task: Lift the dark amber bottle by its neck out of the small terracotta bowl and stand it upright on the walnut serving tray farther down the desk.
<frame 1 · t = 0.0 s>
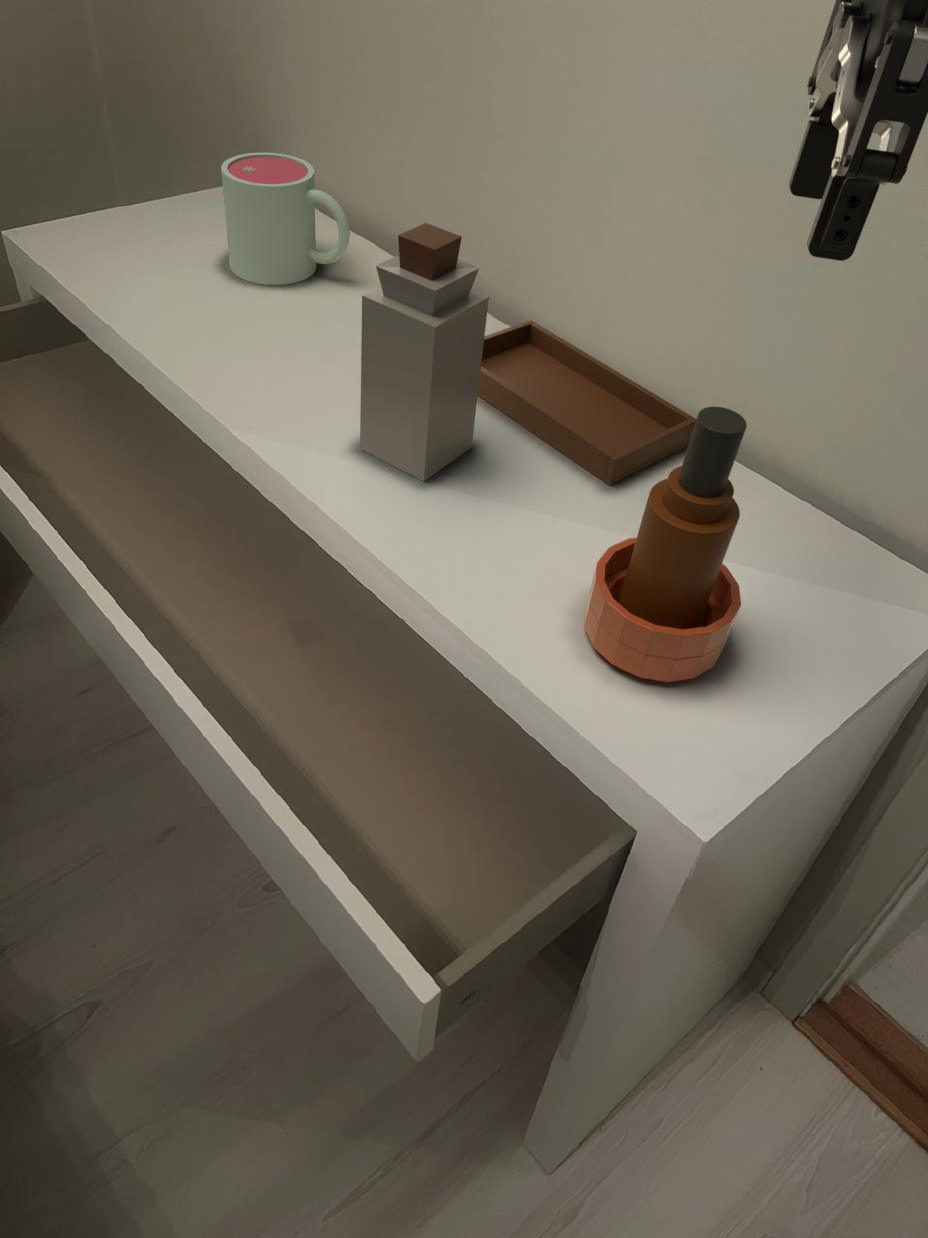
hand: (815, 223, 50), 27 cm above the table, tool pointing down, fingers open, 8 cm apart
tray: (564, 408, 85), on the table
bottle: (652, 629, 65), point 1 cm above the table, touching bowl
bowl: (650, 635, 65), on the table
mug: (291, 272, 100), on the table
perfume bottle: (416, 449, 79), on the table
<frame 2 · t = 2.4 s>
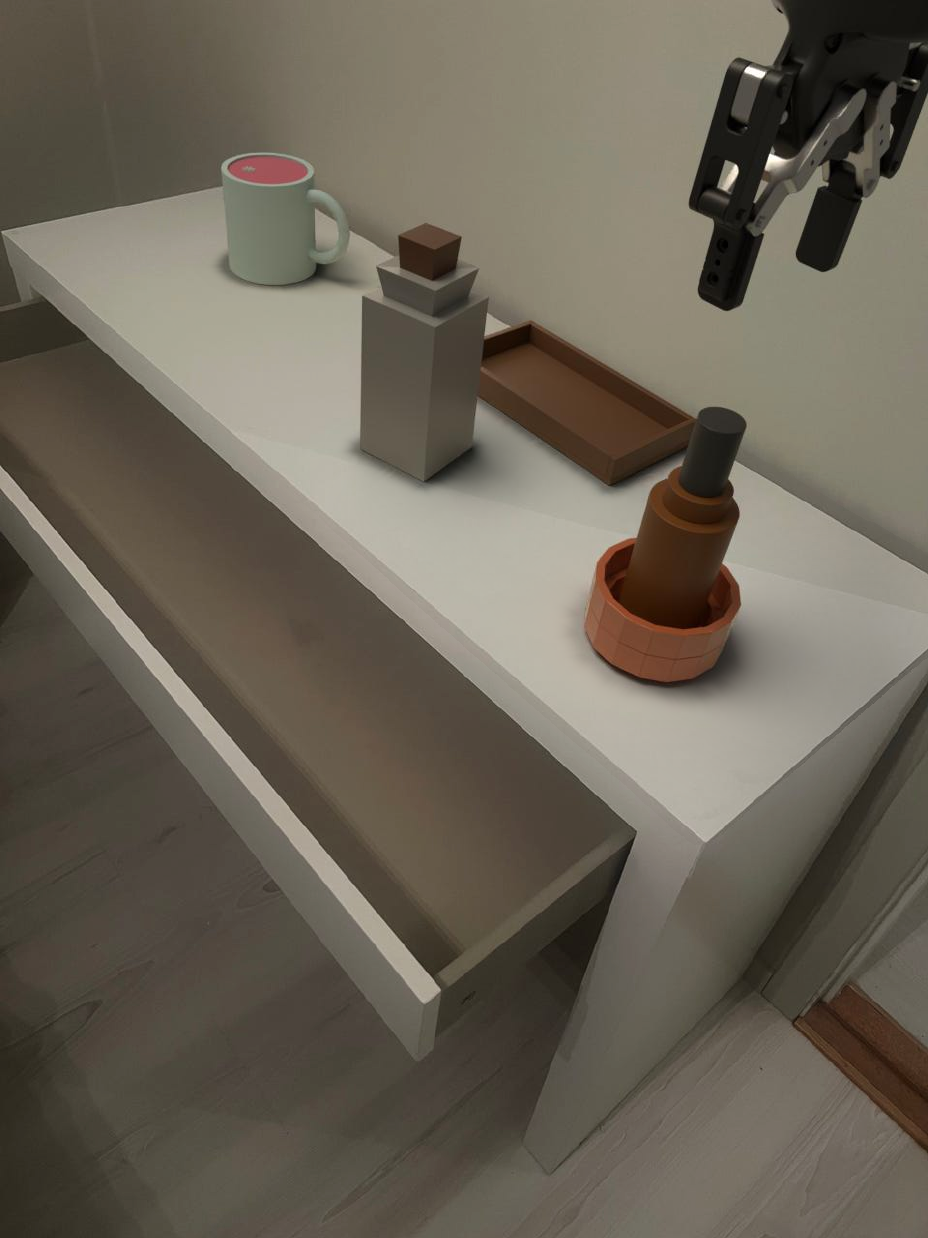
hand: (768, 283, 47), 26 cm above the table, tool pointing down, fingers open, 8 cm apart
nothing on the table moved.
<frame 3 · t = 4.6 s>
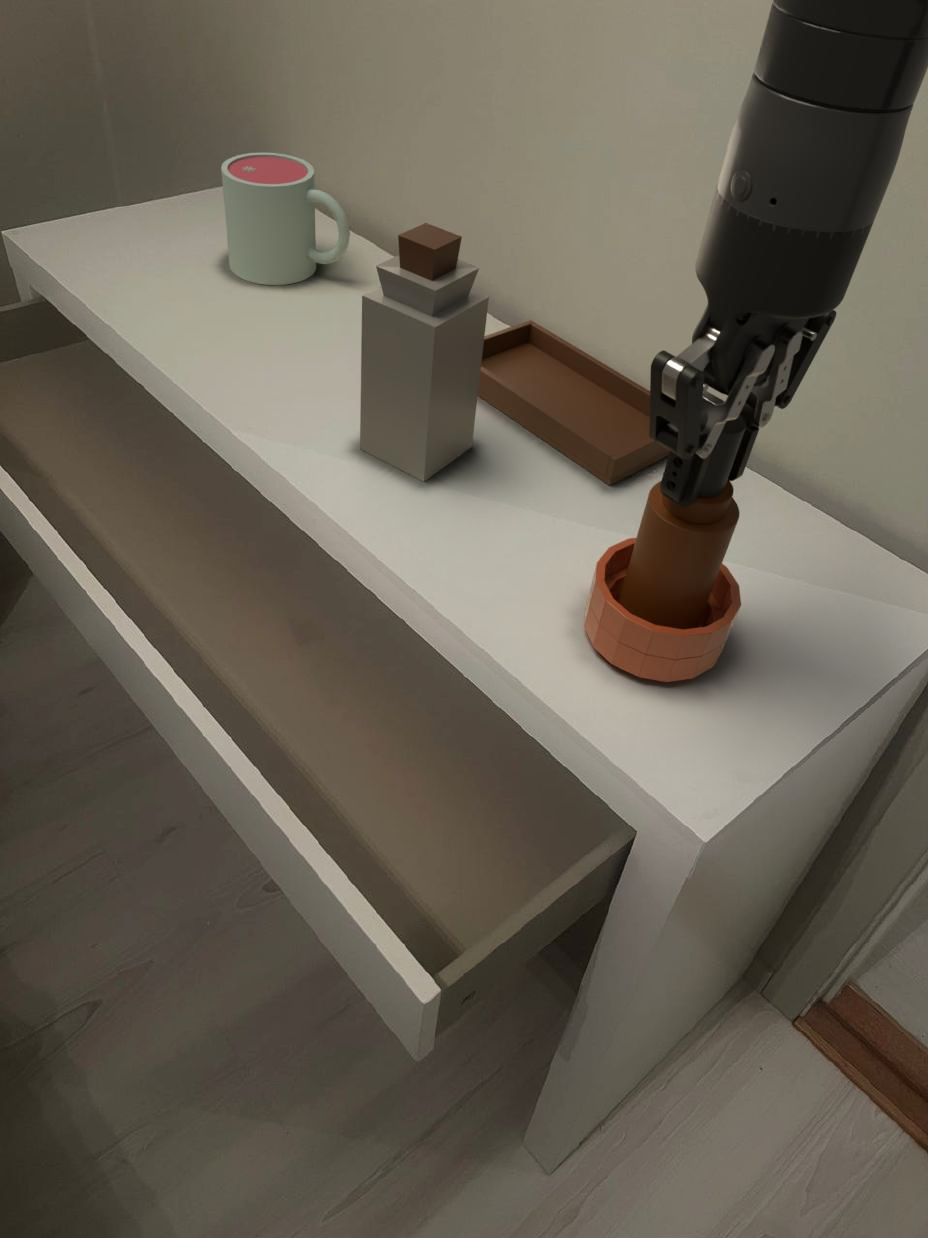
hand: (700, 484, 56), 13 cm above the table, tool pointing down, fingers closed on bottle, 4 cm apart
bottle: (652, 629, 65), point 1 cm above the table, touching bowl, gripper
everything else where it was.
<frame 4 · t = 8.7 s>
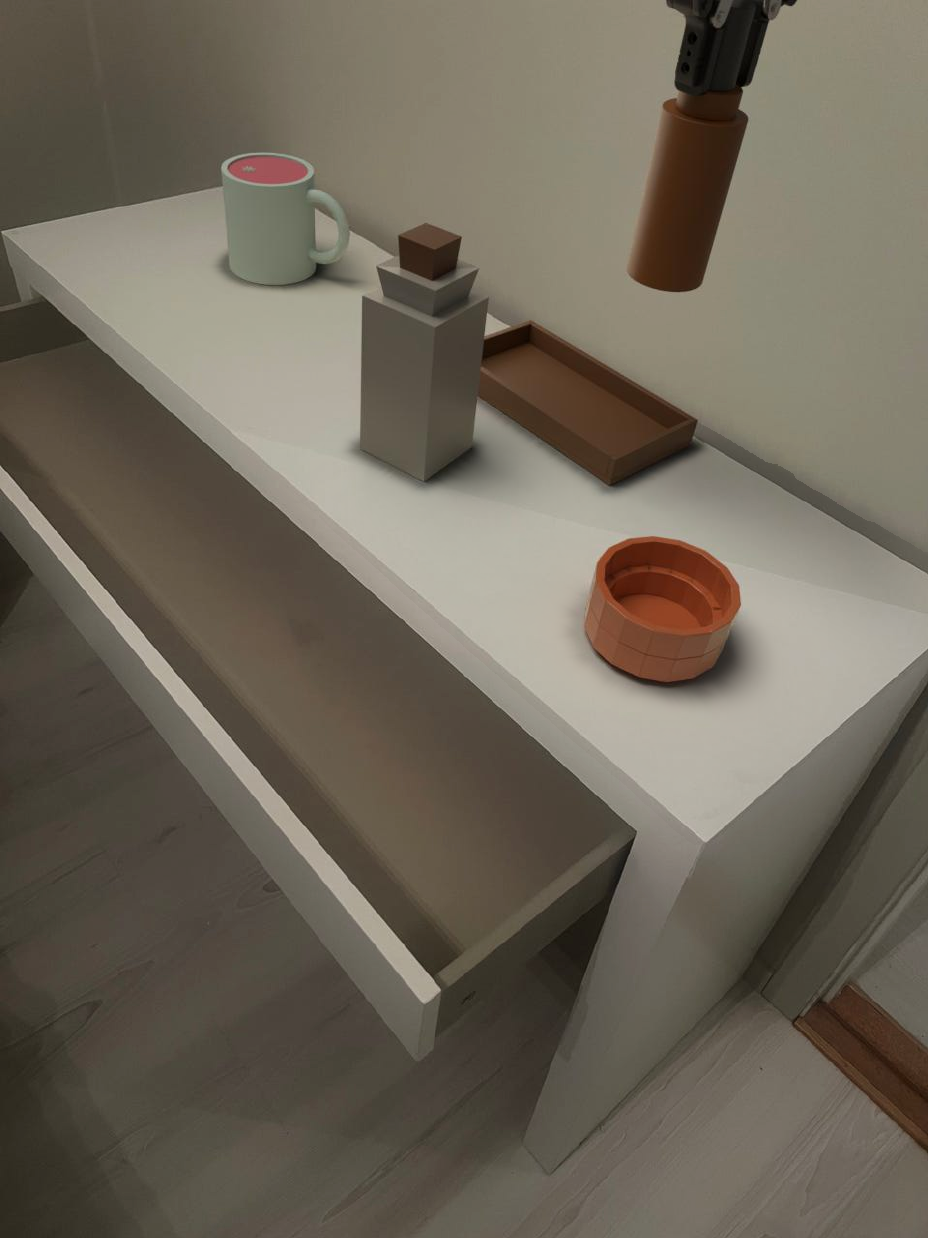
hand: (712, 86, 59), 29 cm above the table, tool pointing down, fingers closed on bottle, 4 cm apart
bottle: (664, 274, 68), point 17 cm above the table, touching gripper
everything else where it was.
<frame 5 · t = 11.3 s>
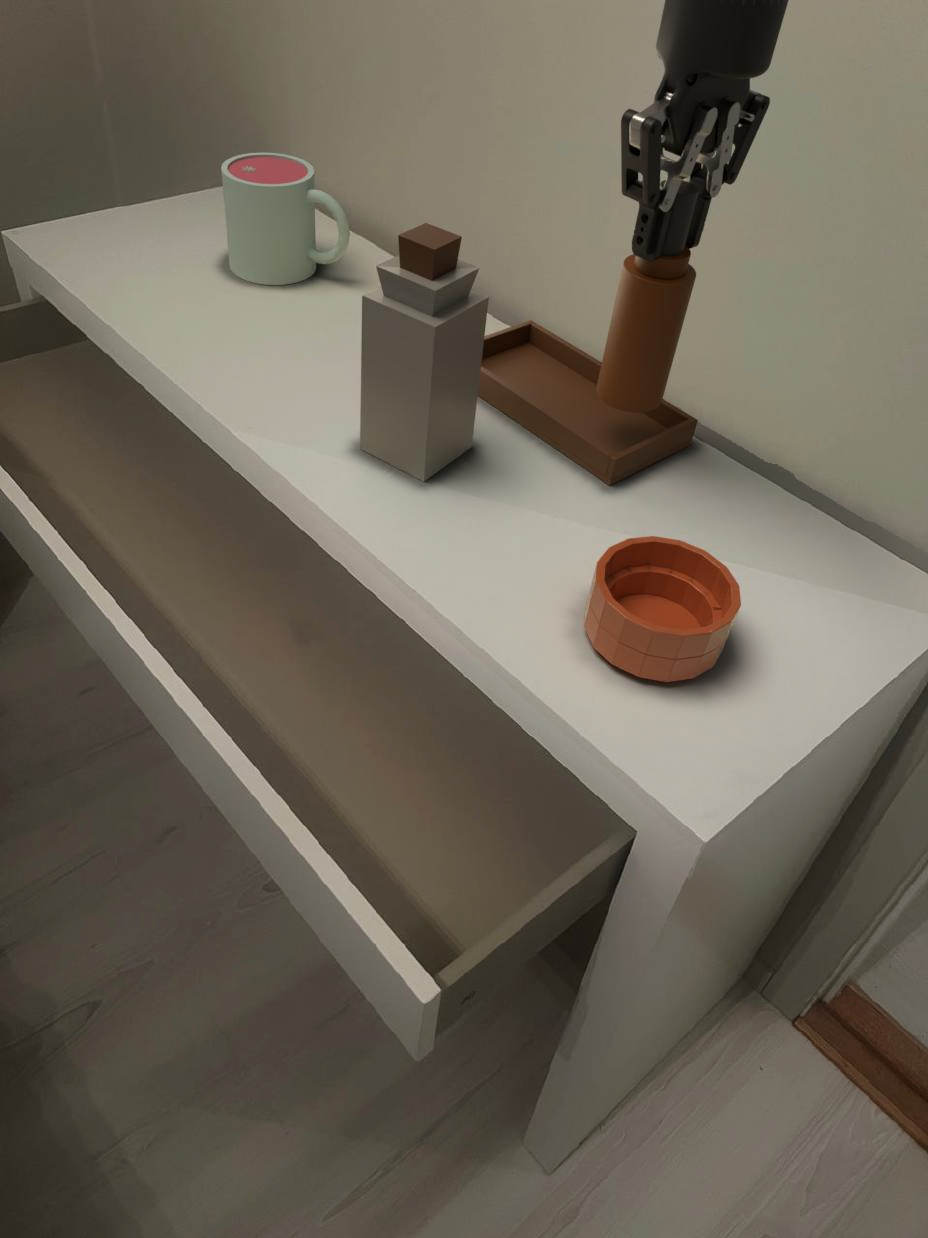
hand: (665, 249, 70), 17 cm above the table, tool pointing down, fingers closed on bottle, 4 cm apart
bottle: (628, 394, 78), point 5 cm above the table, touching gripper
everything else where it was.
when the fingers open (13 cm above the table, at t = 12.8 s): bottle stays where it is, resting on tray.
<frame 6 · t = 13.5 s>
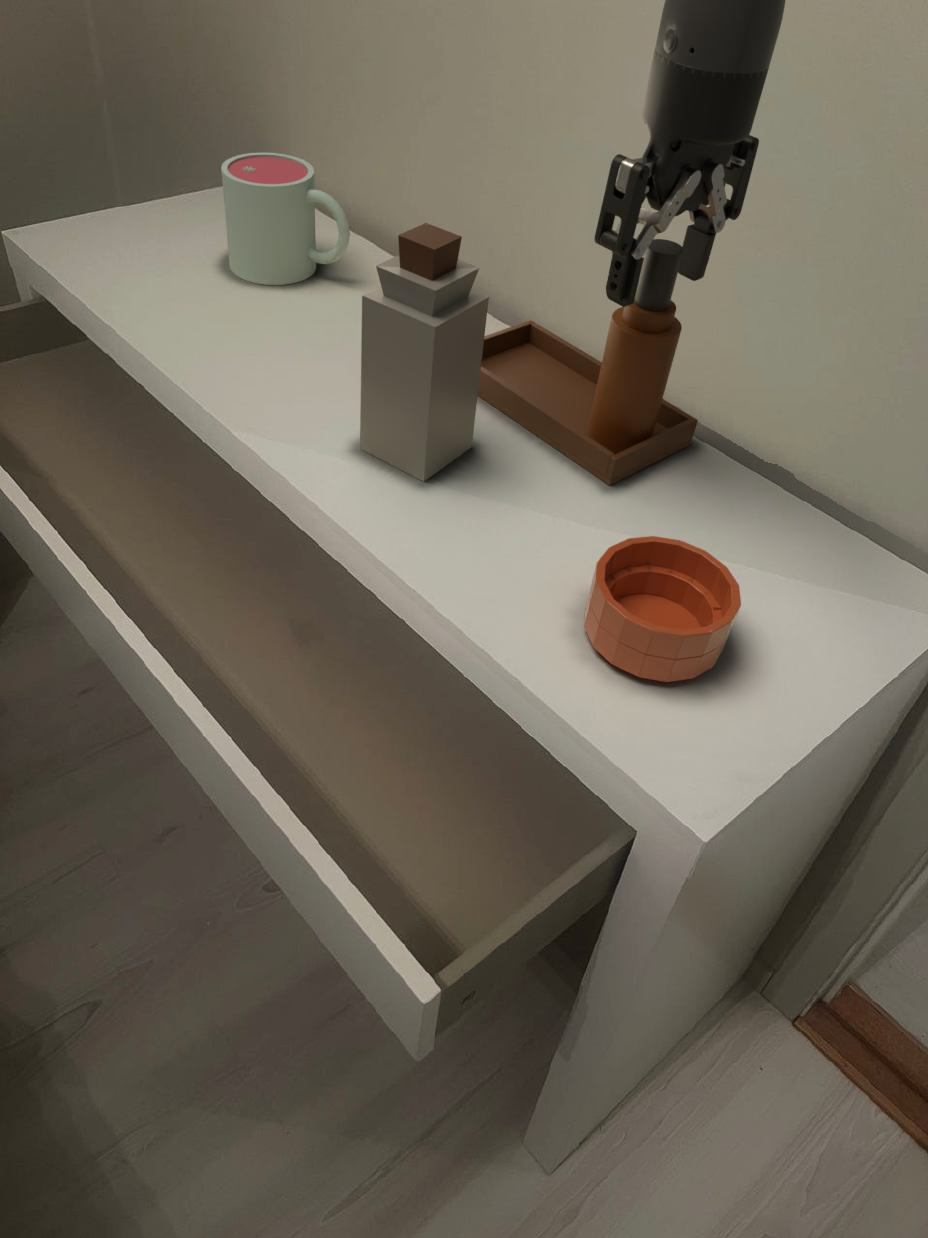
hand: (655, 288, 72), 14 cm above the table, tool pointing down, fingers open, 8 cm apart
bottle: (618, 438, 82), point 1 cm above the table, touching tray
everything else where it was.
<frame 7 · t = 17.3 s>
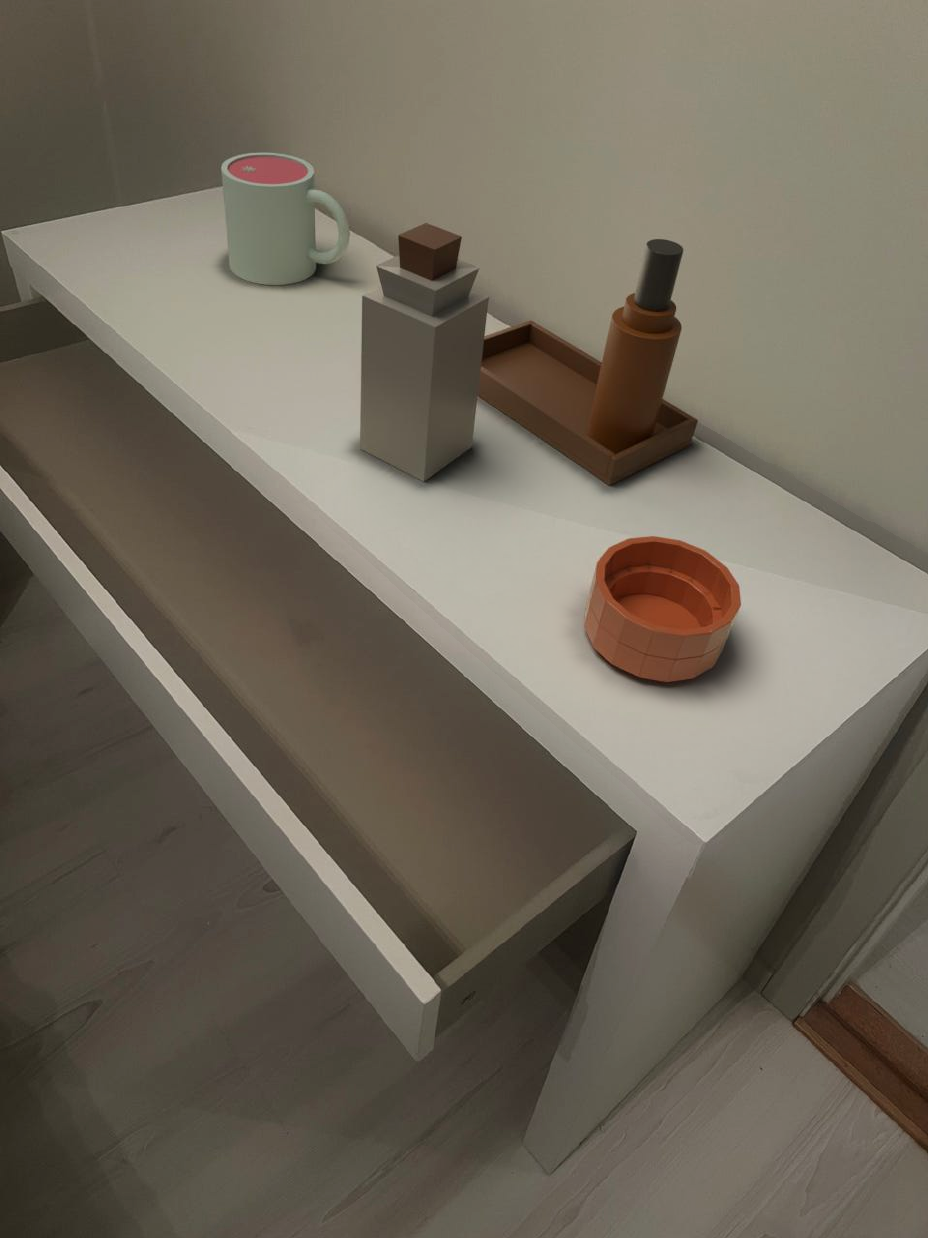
nothing on the table moved.
at the end: bottle 6.7 cm from the tray (horizontally); bottle point 0.6 cm above the table; bottle tilted 0° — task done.
